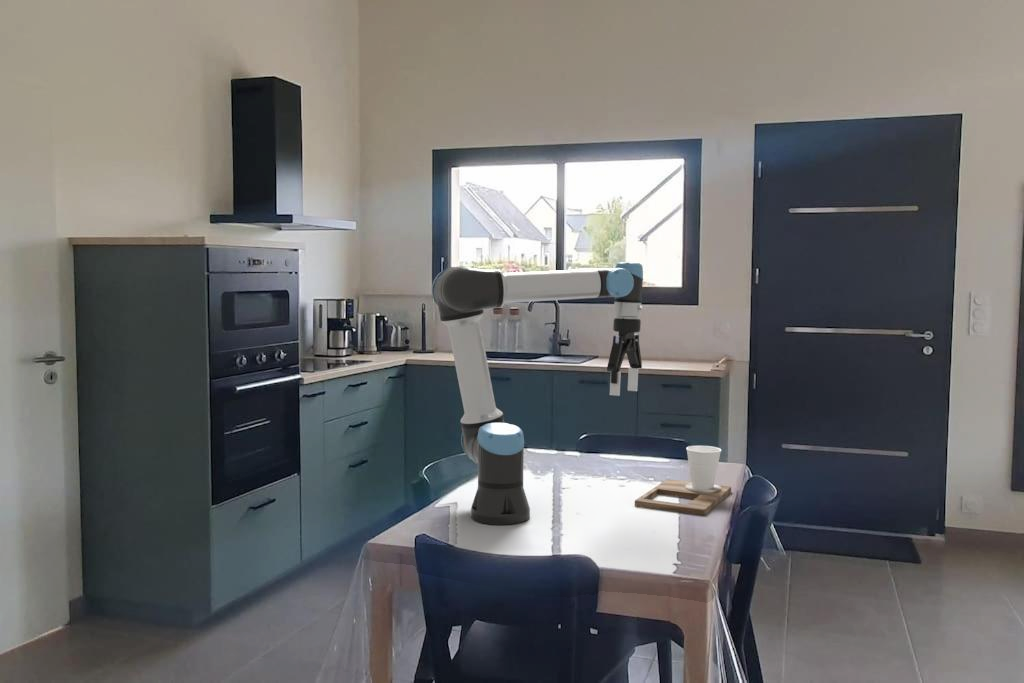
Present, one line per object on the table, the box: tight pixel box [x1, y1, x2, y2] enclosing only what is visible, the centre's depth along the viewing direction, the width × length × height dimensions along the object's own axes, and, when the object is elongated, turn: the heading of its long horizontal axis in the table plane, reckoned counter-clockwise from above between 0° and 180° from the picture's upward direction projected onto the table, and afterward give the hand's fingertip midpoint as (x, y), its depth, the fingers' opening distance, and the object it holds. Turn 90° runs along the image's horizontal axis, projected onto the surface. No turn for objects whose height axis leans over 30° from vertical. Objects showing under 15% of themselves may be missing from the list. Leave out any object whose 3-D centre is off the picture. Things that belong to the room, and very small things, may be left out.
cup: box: [685, 445, 722, 489], centre depth 249 cm, size 10×10×11 cm
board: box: [634, 478, 732, 516], centre depth 244 cm, size 28×19×2 cm
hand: (623, 393), depth 247 cm, fingers open, 13 cm apart
